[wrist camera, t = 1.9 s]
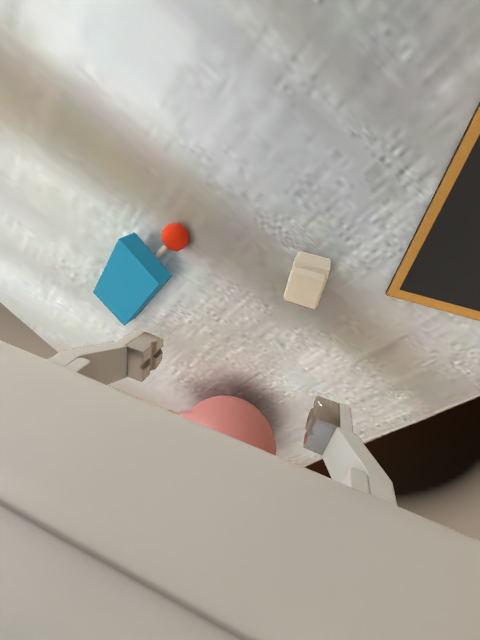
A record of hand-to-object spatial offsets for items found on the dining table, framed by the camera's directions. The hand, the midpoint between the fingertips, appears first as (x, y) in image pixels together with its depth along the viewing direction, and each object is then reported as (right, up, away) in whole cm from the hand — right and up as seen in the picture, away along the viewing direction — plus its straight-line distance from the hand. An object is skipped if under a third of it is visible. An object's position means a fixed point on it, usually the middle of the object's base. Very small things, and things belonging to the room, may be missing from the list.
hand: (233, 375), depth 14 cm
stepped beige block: (+9, +9, +20) cm, 23 cm away
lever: (-13, +10, +27) cm, 31 cm away
